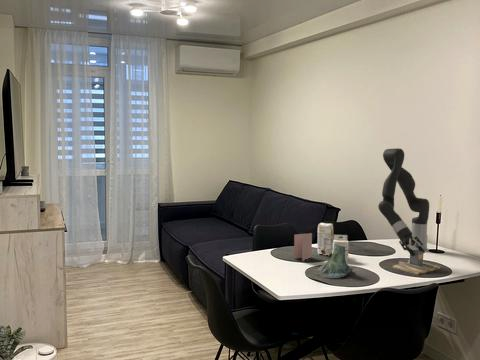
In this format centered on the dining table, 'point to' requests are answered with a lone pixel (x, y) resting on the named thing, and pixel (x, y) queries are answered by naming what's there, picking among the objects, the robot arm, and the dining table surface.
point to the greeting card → (303, 246)
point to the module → (417, 258)
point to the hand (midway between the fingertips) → (418, 254)
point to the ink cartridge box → (342, 243)
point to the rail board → (415, 267)
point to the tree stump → (336, 263)
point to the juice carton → (325, 239)
